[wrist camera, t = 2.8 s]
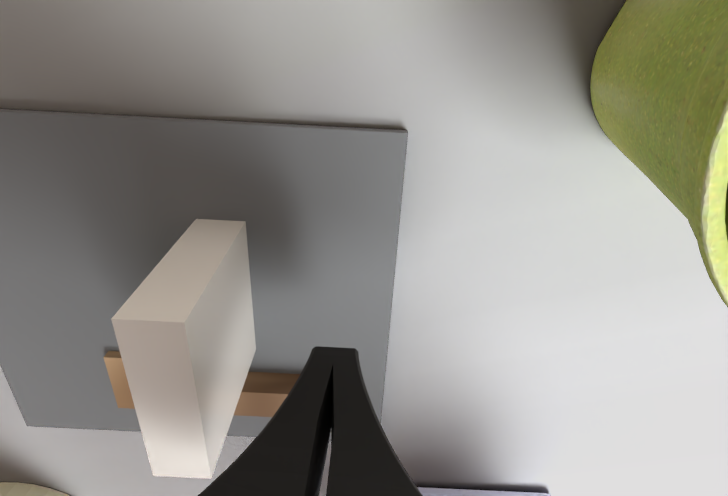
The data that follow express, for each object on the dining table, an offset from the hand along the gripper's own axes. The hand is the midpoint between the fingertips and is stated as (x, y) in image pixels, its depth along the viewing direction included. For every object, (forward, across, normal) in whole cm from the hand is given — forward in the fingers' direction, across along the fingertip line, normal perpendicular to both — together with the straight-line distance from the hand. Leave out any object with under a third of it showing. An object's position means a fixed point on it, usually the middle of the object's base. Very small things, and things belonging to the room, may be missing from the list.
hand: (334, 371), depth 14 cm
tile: (+4, +4, 0) cm, 6 cm away
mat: (+5, +6, +1) cm, 8 cm away
